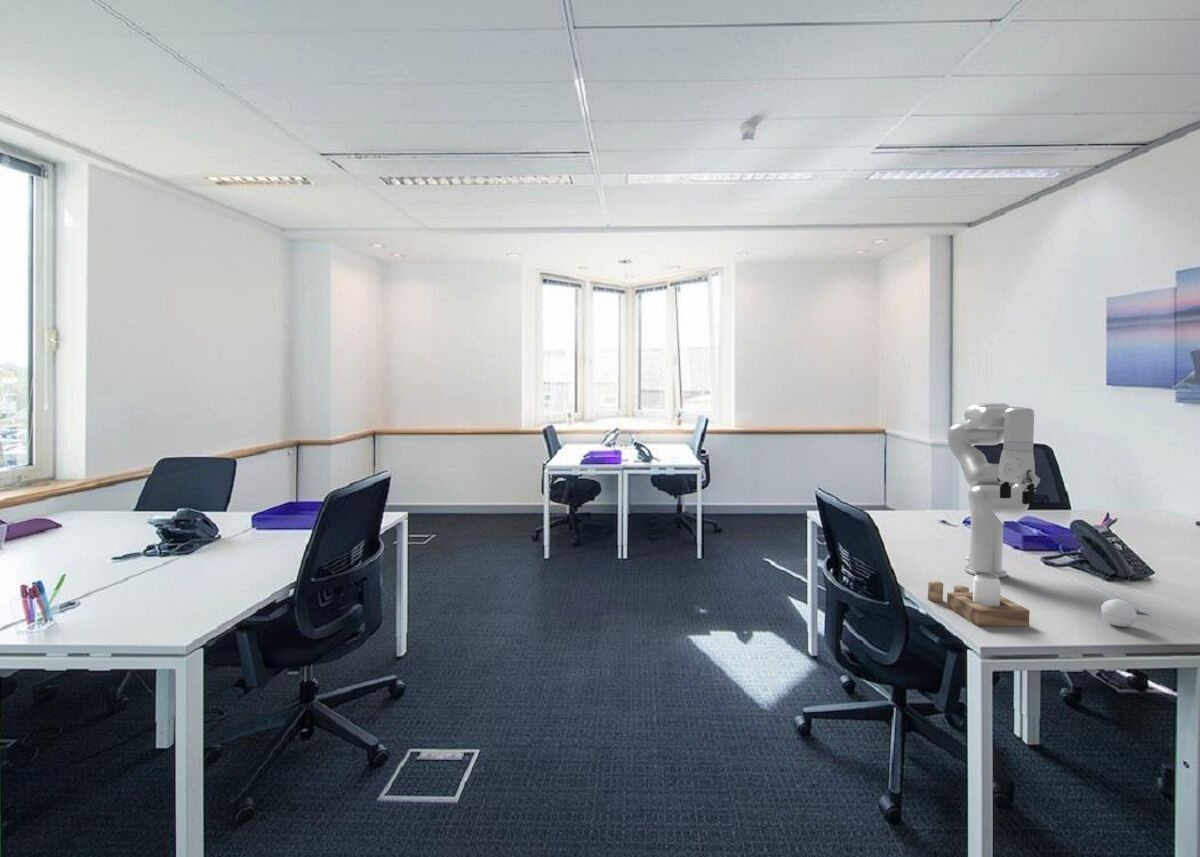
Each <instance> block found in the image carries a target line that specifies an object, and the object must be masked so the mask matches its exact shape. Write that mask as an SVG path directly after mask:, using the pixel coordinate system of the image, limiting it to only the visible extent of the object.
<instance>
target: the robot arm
mask: <svg viewBox="0 0 1200 857" xmlns="http://www.w3.org/2000/svg"><path fill="white" fill-rule="evenodd" d="M963 416H964V419H965V421H966V422H965V423H964V422H963V423H957V424H954V425H952V426H950V427H949V429H948V430H947V440H948V442H947V443H948V446H949V448H950V451H951V452H952V454H953V455H954V457H955V458H956V459H957V460H958V462H959V464H960V467H961V469H962V473H963V476H964V478H965V481H966V483H967V484H968V486H970V487H971V488H970V489H969V490H968V495H967V496H968V497H967V498H968V505H969V511H970V534H969V535H970V537H969V539H970V540H969V541H970V542H969V556H965V560H966V561H967V562H968V564H966V565H965V566H964V568H963V569H964V571H965V572H966V573H968V574H971V575H974V576H975V575H976V574H975V573H977V572H985V573H991V574H995V575H997V576H999V579H1003V578H1006V577H1007V575H1008V572H1007V571H1006V570H1005V569H1003V542H1004V541H1003V539H1004V525H1003V523H1002V521H1001V520H1000V519H999V518H998V516H997V515H996V513H997V514H998V513H1001V514H1022V513H1025V512H1026V511H1027V510H1028V509H1029V508H1030V505H1034V503H1035V492H1036V491H1037V489H1038V488H1039V484H1040V482H1041V478H1040V477H1039V476H1037V474H1036V465H1035V462H1036V461H1035V456H1034V435H1035V433H1034V432H1035V431H1034V430H1035V410H1034V409H1032V408H1031V407H1029V408H1028V407H1023V406H1010V405H1008V404H1007V403H1002V402H1001V403H1000V402H999V403H997V402H996V403H994V402H993V403H991V402H990V403H982V402H981V403H974V404H971V405H969V406H968V407H967V408H966V409H965V411H964V413H963ZM1001 442H1003V443H1002V444H1003V446H1002V447H1003V448H1002V450H1001V452H1000V453H1001V454H1000V458H999V463H990V462H989V461H988V460H987V457H986V455H985V454H984V453H983V452H982V451H981V450H980V449H978V448H977V447H975V446H997V445H999V444H1001Z"/></svg>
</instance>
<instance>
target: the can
mask: <svg viewBox="0 0 1200 857" xmlns="http://www.w3.org/2000/svg"><path fill="white" fill-rule="evenodd" d="M975 574H976V575H974V577H973V580H972V581H973V582H972V585H973V586H972V592H973V601H974V602H976V603H978V604H979V605H981V606H1000V596H1001V580H1000V578H999V576H997V575H995V574H991V573H985V572H977V573H975Z"/></svg>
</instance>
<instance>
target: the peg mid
mask: <svg viewBox="0 0 1200 857" xmlns="http://www.w3.org/2000/svg"><path fill="white" fill-rule="evenodd" d="M927 582H928V583H927V584H928V586H927V600H928V601H930V602H933V603H942V602H944V599H943V598H944V583H943V582H941V581H937V580H929V581H927Z"/></svg>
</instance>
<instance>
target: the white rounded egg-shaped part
mask: <svg viewBox="0 0 1200 857" xmlns="http://www.w3.org/2000/svg"><path fill="white" fill-rule="evenodd" d="M1100 615H1101V616H1102V618H1103V619H1104V620H1105V621H1106V622H1107V623H1109V624H1111V625H1113V626H1114V627H1120V628H1124V627H1125V628H1126V627H1130V626H1132V625H1133V624H1134V623H1135V622H1136V621H1137V618H1138V616H1137V615H1138V614H1137V611H1136V609H1135V607H1134V606H1133V605H1132V604H1130V602H1127V601H1125V600H1124V599H1118V598H1112V599H1108V600H1105V601H1104V602H1103V604H1101V607H1100Z"/></svg>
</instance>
